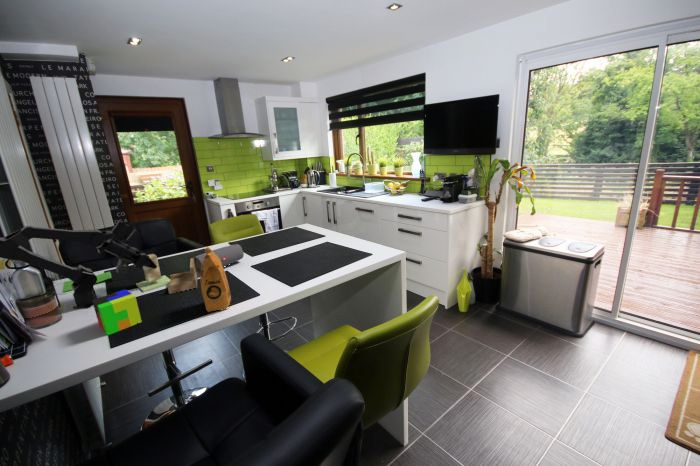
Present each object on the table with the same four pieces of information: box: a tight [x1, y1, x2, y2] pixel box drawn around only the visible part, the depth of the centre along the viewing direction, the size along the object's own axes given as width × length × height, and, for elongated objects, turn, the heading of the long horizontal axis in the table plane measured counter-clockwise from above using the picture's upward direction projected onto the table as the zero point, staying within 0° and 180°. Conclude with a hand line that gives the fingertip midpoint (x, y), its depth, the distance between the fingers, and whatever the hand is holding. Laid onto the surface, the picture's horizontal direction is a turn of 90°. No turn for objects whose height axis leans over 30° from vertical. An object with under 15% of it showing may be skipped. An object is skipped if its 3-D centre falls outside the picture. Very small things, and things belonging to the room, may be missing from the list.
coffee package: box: [200, 246, 232, 313], centre depth 118 cm, size 10×12×22 cm
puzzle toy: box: [92, 289, 143, 336], centre depth 110 cm, size 10×10×10 cm
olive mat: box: [135, 274, 171, 293], centre depth 144 cm, size 12×12×1 cm
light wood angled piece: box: [166, 257, 198, 295], centre depth 139 cm, size 11×13×10 cm
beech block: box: [142, 253, 162, 282], centre depth 142 cm, size 5×5×11 cm
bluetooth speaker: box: [193, 243, 245, 274], centre depth 159 cm, size 23×9×10 cm, turn 143°
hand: (154, 266), depth 143 cm, fingers closed on beech block, 5 cm apart
